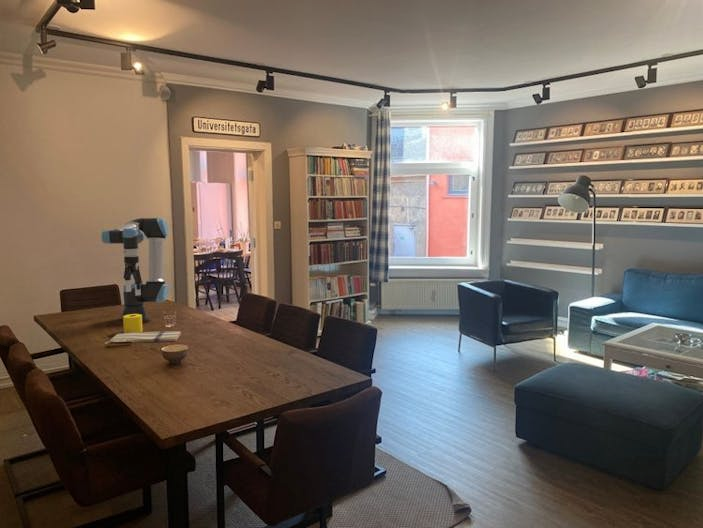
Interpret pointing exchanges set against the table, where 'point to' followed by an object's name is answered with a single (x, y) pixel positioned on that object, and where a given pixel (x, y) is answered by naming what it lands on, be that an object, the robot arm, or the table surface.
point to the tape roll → (132, 323)
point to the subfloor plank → (147, 336)
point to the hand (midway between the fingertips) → (133, 293)
